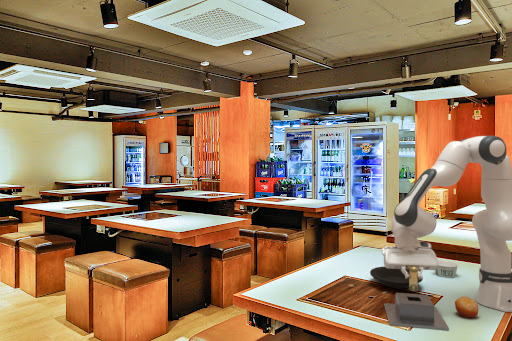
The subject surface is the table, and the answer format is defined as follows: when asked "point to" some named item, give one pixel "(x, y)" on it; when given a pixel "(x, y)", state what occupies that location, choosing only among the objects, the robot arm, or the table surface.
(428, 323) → the block
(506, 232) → the robot arm
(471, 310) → the fruit
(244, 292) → the table surface
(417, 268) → the pin
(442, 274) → the food container
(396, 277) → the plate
